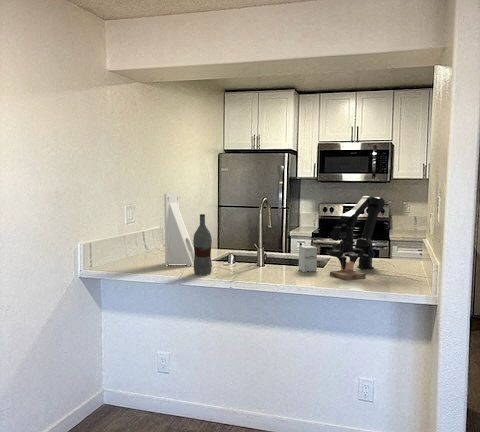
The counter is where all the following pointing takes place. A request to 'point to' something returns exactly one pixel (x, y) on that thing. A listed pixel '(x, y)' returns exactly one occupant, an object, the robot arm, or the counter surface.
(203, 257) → the bottle
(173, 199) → the white bracket plate
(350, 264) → the terracotta block
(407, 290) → the counter surface
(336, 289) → the counter surface
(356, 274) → the walnut base
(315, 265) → the supplement box
